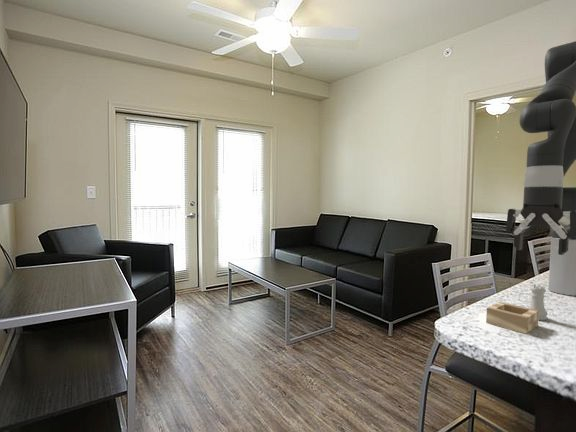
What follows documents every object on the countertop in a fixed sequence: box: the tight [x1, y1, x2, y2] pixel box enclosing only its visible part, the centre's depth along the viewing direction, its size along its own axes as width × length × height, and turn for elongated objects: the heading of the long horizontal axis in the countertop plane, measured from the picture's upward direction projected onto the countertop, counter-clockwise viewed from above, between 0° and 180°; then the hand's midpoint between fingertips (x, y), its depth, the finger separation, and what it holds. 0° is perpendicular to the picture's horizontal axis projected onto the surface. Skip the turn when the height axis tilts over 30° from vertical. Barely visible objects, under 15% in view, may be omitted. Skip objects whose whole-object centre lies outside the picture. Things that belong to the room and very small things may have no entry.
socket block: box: [485, 301, 539, 334], centre depth 78 cm, size 8×8×4 cm
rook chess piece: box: [527, 284, 548, 321], centre depth 83 cm, size 4×4×8 cm
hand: (539, 252), depth 82 cm, fingers open, 8 cm apart
